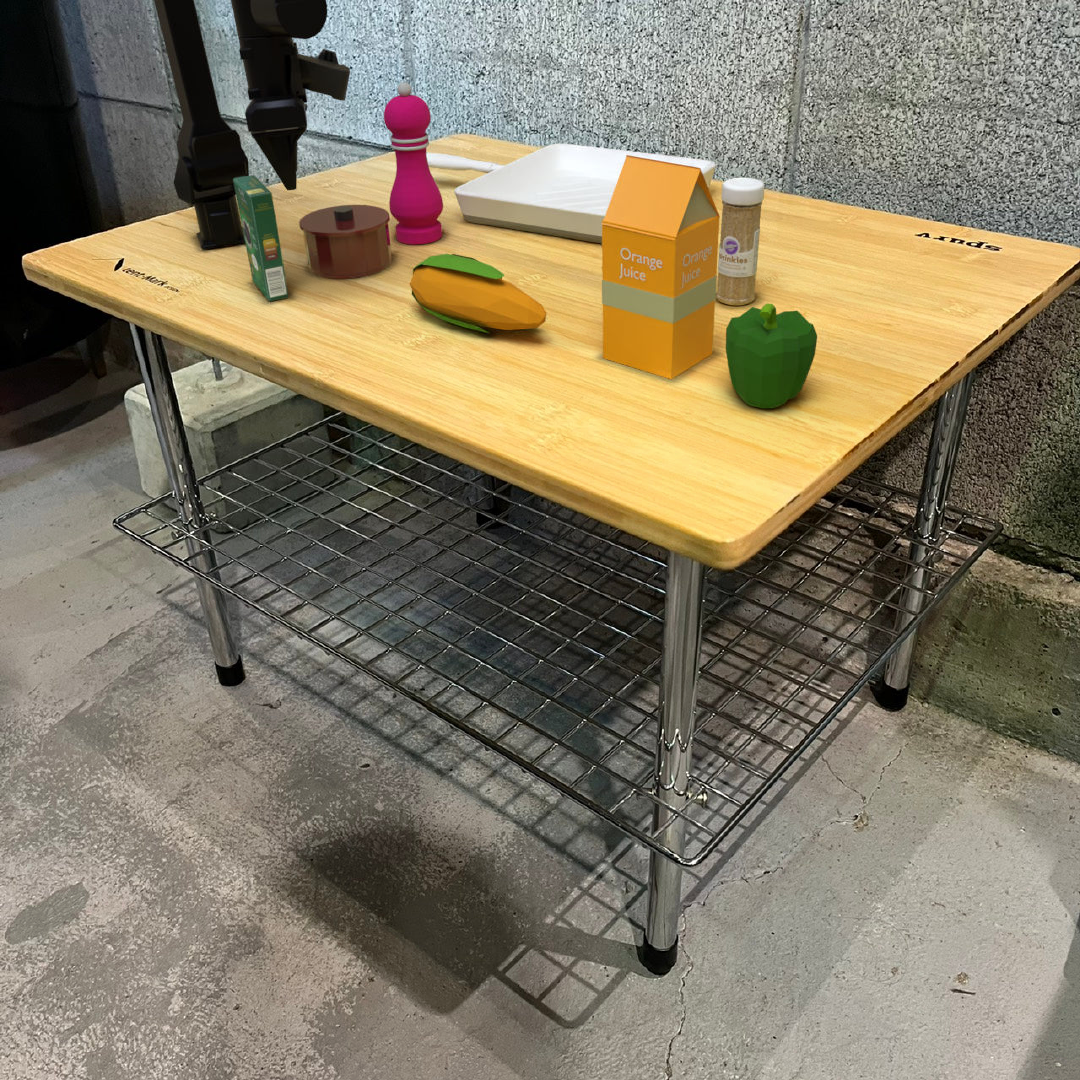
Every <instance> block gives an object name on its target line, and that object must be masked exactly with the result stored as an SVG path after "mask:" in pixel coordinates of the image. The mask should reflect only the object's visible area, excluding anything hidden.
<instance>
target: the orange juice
mask: <svg viewBox="0 0 1080 1080" xmlns="http://www.w3.org/2000/svg"><path fill="white" fill-rule="evenodd" d="M720 217H721V216H720V214H719V211H718V208H717V207H716V203H715V200H714V199H713V196H712V194H711V192H710V188H709V189H708V186H707V184H706V181H705V179H704V176H703V174H702V171H701V169H700V168H697V167H692V166H686V165H680V164H675V163H669V162H663V161H658V160H652V159H646V158H641V157H635V156H629V155H626V159H625V162H624V164H623V167H622V170H621V173H620V176H619V178H618V181H617V184H616V187H615V190H614V192H613V195H612V198H611V201H610V204H609V206H608V209H607V212H606V215H605V218H604V220H603V221H602V244H601V245H602V246H601V249H602V250H601V253H602V254H601V255H602V256H601V258H602V259H601V260H602V261H601V262H602V266H601V268H602V272H601V273H602V279H601V304H602V359H603V360H604V359H605V360H608V361H611V362H615V363H617V364H620V365H623V366H627V367H630V368H633V369H636V370H640V371H644V372H646V373H649V374H652V375H656V376H660V377H663V378H665V379H670V380H672V379H674V378H676V377H677V376H679V375H681V374H682V373H684V372H686V371H687V370H689V369H690V368H692V367H694V366H696V365H697V364H698V363H700V362H702V361H704V360H705V359H707V358H709V357H710V356H712V355H713V349H714V348H713V347H714V332H715V331H714V330H715V329H714V328H715V312H716V309H715V307H716V300H717V297H716V293H717V286H718V274H717V272H718V256H719V237H720V236H719V234H720V233H719V232H720Z"/></svg>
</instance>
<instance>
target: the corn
mask: <svg viewBox="0 0 1080 1080" xmlns="http://www.w3.org/2000/svg"><path fill="white" fill-rule="evenodd" d="M503 277H505V274H504V273H503V272H502V271H500V270H499V269H498V268H496V267H494V266H493V265H491V264H489V263H484V262H482V261H480V260H477V259H476V258H473V257H470V256H466V255H465V256H464V255H460V254H455V253H452V254H450V253H443V254H437V255H430V256H428V257H427V258H425V259H424V260H422V261H421V262H419V263H418V264H417V265H416V266H414V267H413V268H412V276H411V279H410V281H409V286H410V289H411V296H412V297H413V298H414V300H415V302H416V303H417V304H418V305H419V306H421V307H422V309H424V311H426V312H427V313H428V314H431V315H433V316H434V317H436V318H439V319H440V320H442V321H444V322H447V323H451V324H454V325H457V326H459V327H463V328H465V329H470V330H474V331H479V332H483V333H487V334H491V332H489V331H486V330H485V329H483V327H484V328H491V329H497V330H504V331H513V330H526V329H527V330H529V329H537V328H539V327H540V326H542V325H543V324H545V323H546V320H547V310H546V309H545V307H544V305H543V304H542V303H540V302H538V300H537V299H535V298H533V297H532V296H530V295H529V294H527V293H526V292H525V291H523V290H522V289H521V288H519V287H517V285H514V284H513V283H512V282H509V281H507V280H505V279H503ZM481 327H482V328H481Z"/></svg>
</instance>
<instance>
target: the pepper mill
mask: <svg viewBox="0 0 1080 1080" xmlns="http://www.w3.org/2000/svg"><path fill="white" fill-rule="evenodd" d="M396 89H397V94H398V95H396V96H394V97H392V98H391V99H389V100H388V102H387V103H386V105H385V107H384V110H383V121H384V125H385V127H386V128H387V130H388V131H389V132H390V133H391V135H390V137H389V140H390V142H391V144H390V148H391V149H393V150H394V154H395V162H396V163H395V164H396V171H395V178H394V181H393V183H392V188H391V191H390V195H389V202H388V205H389V213H390V215H391V216H392V218H394V219H395V220H396V221H397V222H398V223H397V224H396V225H395V227H394V228H395V235H396V241H398V242H399V243H401V244H403V245H412V246H415V245H427V244H431V243H435V242H436V241H439V240H440V239H441V238H442V237H443V228H442V227H443V226H442V222H441V221H440V220H439V219H438V218H439V217H440V216H441V214H442V212H443V209H444V202H443V196H442V194H441V190H440V188H439V187H438V184H437V183H436V181H435V178H434V177H433V175H432V173H431V170H430V167H429V166H428V162H427V156H426V152H427V148H428V147H429V145H430V142H429V137H430V135H429V134H428V133H427V130H428V128H429V126H430V124H431V118H432V117H431V116H432V115H431V111H430V107H429V105H428V104H427V103H426V101H425V100H424V99H423V98H421V97H419V96H417V95H414V94H412V87H411V85H410V84H409V83H408V82H405V81H403V82H400V83H399V84H398V85H397V88H396Z"/></svg>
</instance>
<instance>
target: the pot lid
mask: <svg viewBox="0 0 1080 1080" xmlns="http://www.w3.org/2000/svg"><path fill="white" fill-rule="evenodd" d="M390 221H391V217H390V212H389V211H388V210H386V209H384V208H382V207H380V206H375V205H368V204H344V205H335V206H329V207H325V208H320V209H317V210H314V211H311V212H309V213H307V214H305V215H304V216H302V217H301V218H300V219H299V221H298V225H299V229H300V230H301V231H302V233H303V232H305V233H307V234H311V235H315V236H323V237H343V236H352V235H359V234H363V233H367V232H371V231H374V230H377V229H379V228H381V227H383V226H385V225H386V224H387V223H388V224H389V222H390Z"/></svg>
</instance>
